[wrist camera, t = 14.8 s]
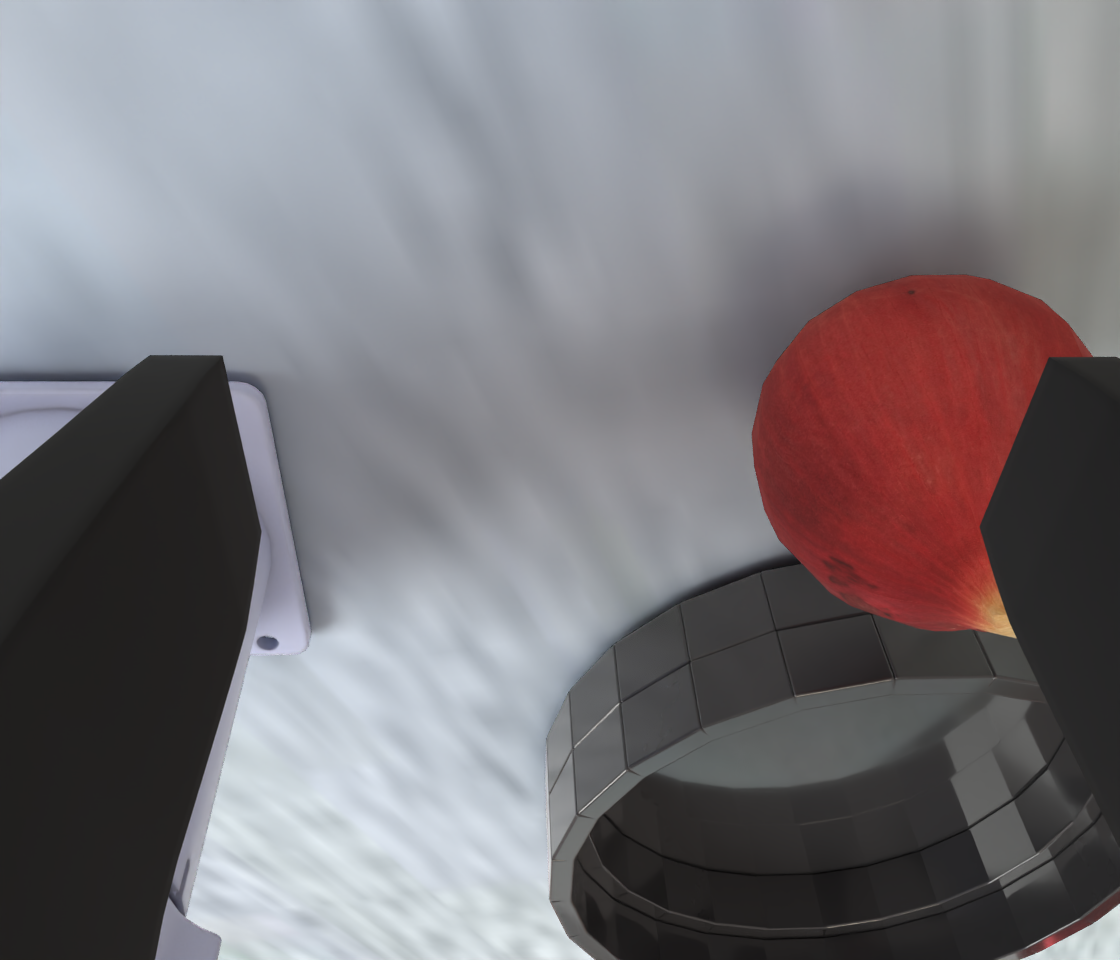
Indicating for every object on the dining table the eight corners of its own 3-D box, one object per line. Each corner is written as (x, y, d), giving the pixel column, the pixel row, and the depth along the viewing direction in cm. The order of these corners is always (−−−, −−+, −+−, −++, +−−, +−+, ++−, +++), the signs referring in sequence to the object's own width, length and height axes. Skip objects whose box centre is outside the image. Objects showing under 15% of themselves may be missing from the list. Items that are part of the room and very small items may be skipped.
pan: (540, 889, 34) (543, 1013, 31) (551, 547, 24) (559, 683, 21) (1006, 877, 35) (1053, 997, 32) (1217, 541, 25) (1317, 671, 22)
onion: (965, 444, 22) (1139, 755, 16) (706, 447, 22) (784, 764, 16) (1055, 195, 18) (1326, 479, 12) (743, 194, 18) (863, 484, 12)
